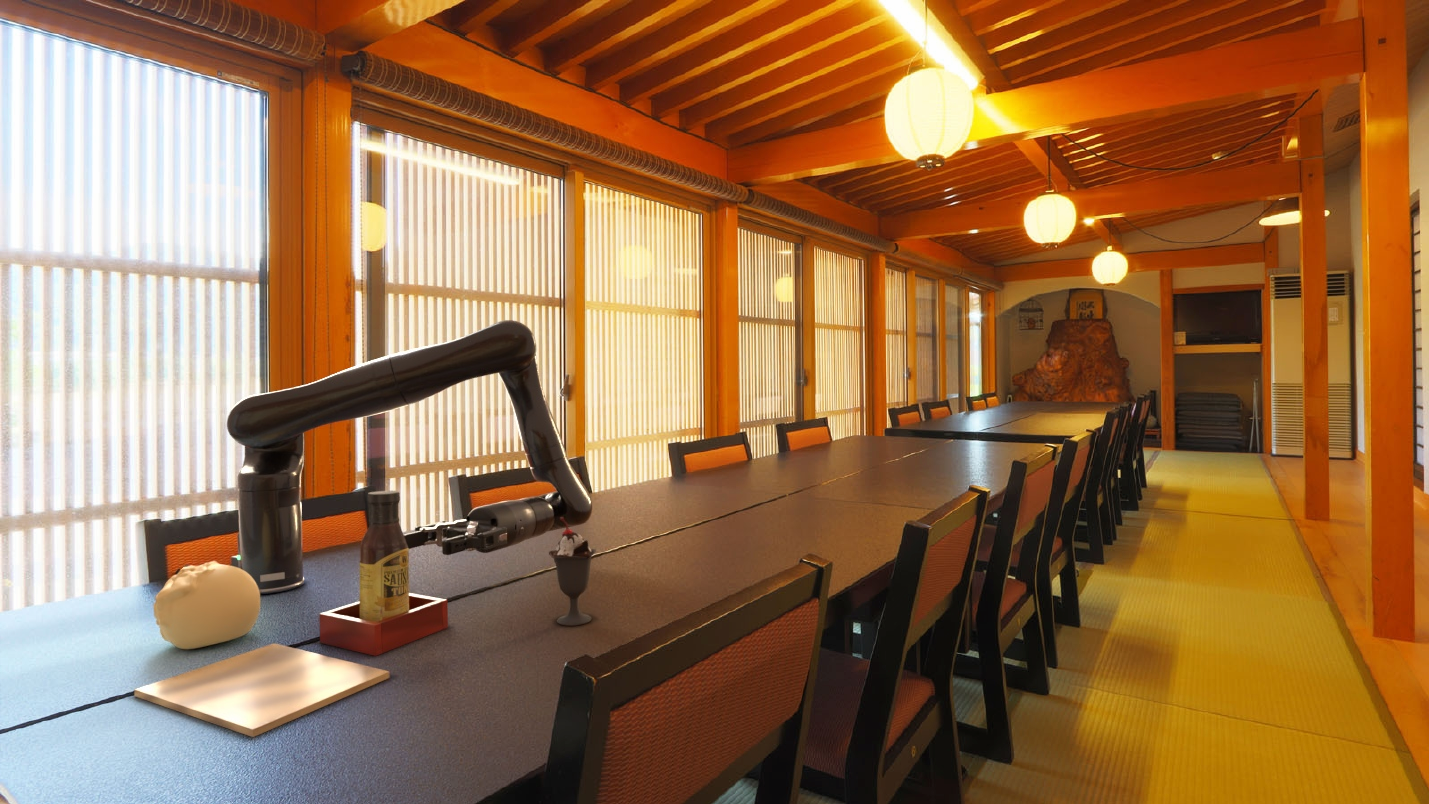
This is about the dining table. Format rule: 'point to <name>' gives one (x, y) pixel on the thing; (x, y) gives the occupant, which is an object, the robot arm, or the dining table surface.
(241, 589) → the tan rounded lump
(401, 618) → the holder
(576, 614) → the sundae
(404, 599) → the sauce bottle
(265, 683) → the mat
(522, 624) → the dining table surface
